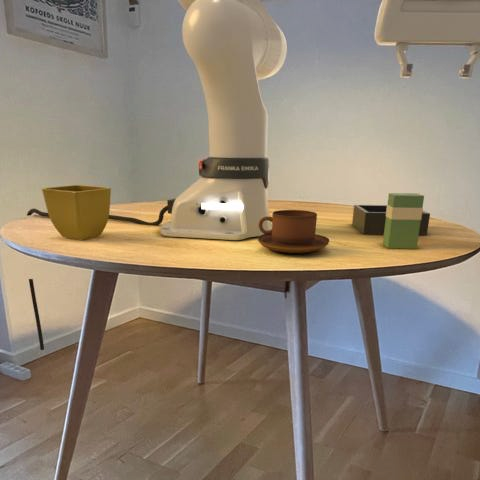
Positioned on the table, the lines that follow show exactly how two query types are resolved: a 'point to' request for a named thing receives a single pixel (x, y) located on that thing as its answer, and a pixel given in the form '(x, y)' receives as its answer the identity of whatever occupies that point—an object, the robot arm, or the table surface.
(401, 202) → the packet
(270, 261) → the table surface
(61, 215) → the flower pot
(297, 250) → the cup and saucer
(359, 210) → the dark open box
